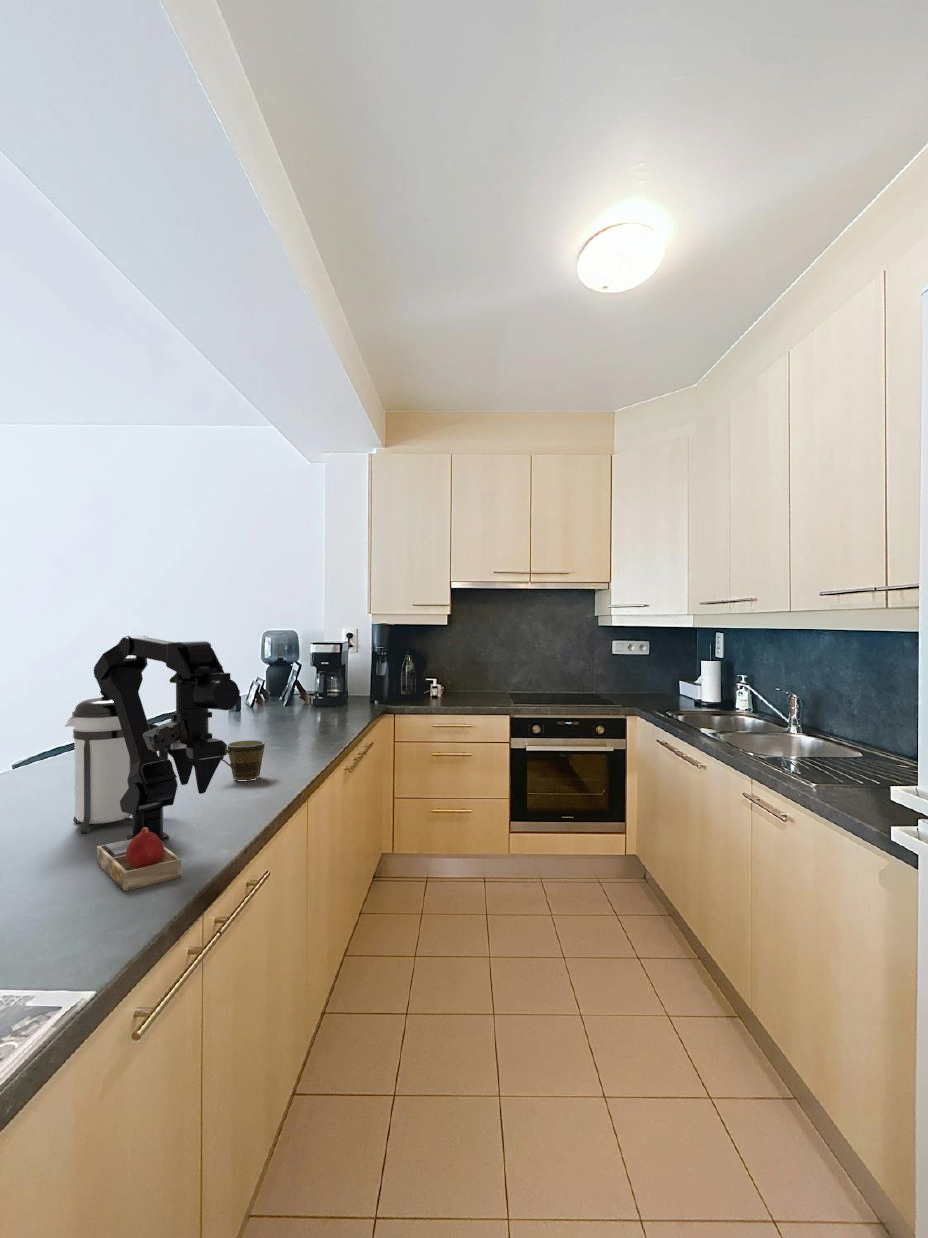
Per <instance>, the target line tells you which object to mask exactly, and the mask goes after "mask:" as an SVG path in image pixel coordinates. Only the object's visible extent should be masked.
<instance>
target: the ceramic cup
mask: <svg viewBox="0 0 928 1238" xmlns="http://www.w3.org/2000/svg"><path fill="white" fill-rule="evenodd" d="M265 744H266V743H265V741H263V740H255V739H254V740H253V739H251V740H250V739H249V740H239V741H233V742H230V743H228V744H227V755H228V757H229V761H230V763H229V762H227V761H226V760H225V759H224V758H223V759H221V762H223V763H225V764H226V765H228V766H229V768H231V773H232V779H233V780H234V779H235V780H251V779H255V778H257V777H258V776H259V777H260V774H261V769H262V763H263V757H264V752H265Z"/></svg>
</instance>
